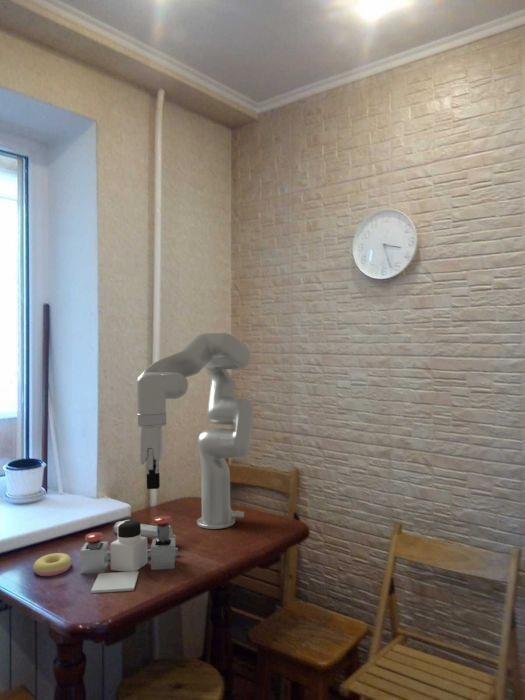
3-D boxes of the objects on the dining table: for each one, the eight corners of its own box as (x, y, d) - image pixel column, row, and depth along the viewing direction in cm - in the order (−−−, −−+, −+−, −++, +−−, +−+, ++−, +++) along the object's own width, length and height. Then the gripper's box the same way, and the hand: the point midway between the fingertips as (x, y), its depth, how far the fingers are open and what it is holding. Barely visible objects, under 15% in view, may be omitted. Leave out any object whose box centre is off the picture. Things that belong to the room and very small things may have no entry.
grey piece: (123, 518, 173) (178, 521, 159) (125, 539, 173) (180, 544, 158) (110, 523, 169) (165, 526, 154) (112, 544, 168) (167, 549, 154)
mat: (138, 573, 138) (138, 571, 138) (133, 590, 129) (133, 587, 129) (98, 575, 137) (98, 573, 137) (90, 593, 127) (90, 590, 127)
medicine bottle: (148, 563, 145) (147, 519, 145) (133, 573, 139) (133, 527, 139) (125, 560, 148) (125, 516, 148) (110, 570, 141) (109, 524, 141)
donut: (74, 571, 146) (40, 566, 146) (77, 553, 147) (43, 549, 147) (62, 580, 137) (25, 576, 136) (65, 561, 137) (29, 557, 137)
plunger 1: (105, 561, 145) (104, 531, 145) (102, 568, 140) (101, 537, 140) (87, 562, 144) (87, 532, 144) (83, 569, 140) (83, 538, 140)
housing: (177, 554, 151) (177, 533, 151) (176, 568, 142) (175, 545, 142) (86, 559, 148) (86, 538, 148) (78, 573, 139) (78, 550, 139)
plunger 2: (172, 544, 147) (172, 515, 147) (171, 550, 142) (171, 520, 142) (155, 545, 146) (155, 516, 146) (153, 551, 142) (153, 521, 142)
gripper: (141, 416, 151) (143, 481, 151) (133, 424, 136) (134, 496, 136) (168, 416, 152) (169, 480, 152) (163, 423, 137) (164, 495, 137)
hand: (153, 488), depth 144 cm, fingers closed
